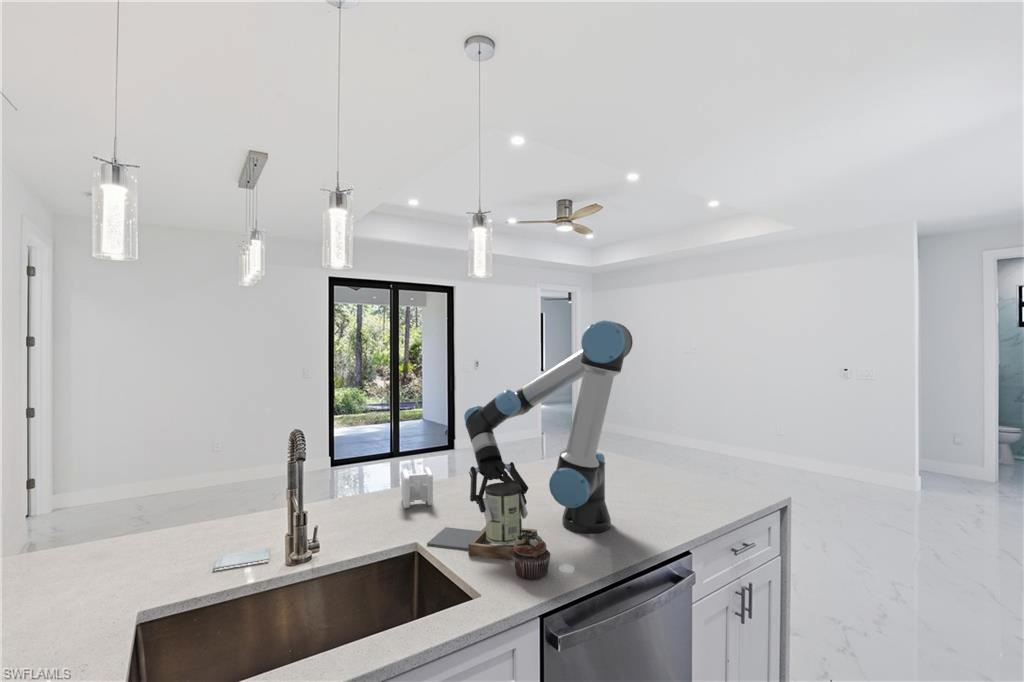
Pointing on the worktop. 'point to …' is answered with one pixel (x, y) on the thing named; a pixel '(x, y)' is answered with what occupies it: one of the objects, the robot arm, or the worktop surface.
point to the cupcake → (530, 556)
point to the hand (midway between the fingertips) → (507, 519)
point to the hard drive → (242, 558)
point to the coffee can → (504, 512)
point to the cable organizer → (417, 487)
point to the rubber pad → (453, 538)
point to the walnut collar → (490, 547)
